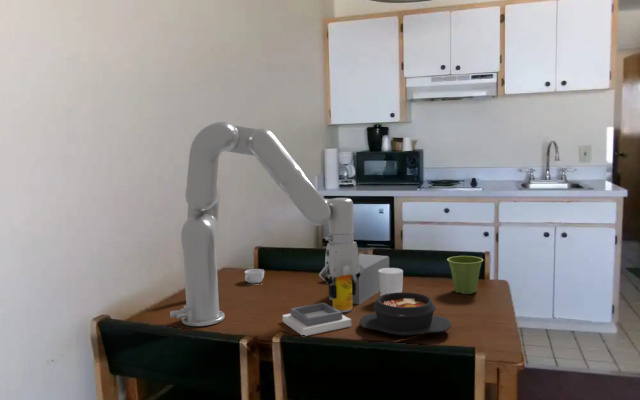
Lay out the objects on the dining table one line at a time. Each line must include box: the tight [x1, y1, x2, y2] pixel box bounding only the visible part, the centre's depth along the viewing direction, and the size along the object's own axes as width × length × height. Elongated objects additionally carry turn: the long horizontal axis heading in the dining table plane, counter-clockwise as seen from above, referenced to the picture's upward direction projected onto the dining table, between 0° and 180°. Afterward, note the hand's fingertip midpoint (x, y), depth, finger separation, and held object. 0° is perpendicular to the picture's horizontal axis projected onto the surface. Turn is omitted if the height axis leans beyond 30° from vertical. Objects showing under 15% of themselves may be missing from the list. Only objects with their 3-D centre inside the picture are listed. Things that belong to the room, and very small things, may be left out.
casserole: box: [358, 291, 452, 337], centre depth 142 cm, size 25×19×8 cm
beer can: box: [332, 266, 354, 313], centre depth 160 cm, size 6×6×15 cm
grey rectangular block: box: [326, 253, 390, 305], centre depth 182 cm, size 25×23×11 cm
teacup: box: [244, 268, 265, 284], centre depth 197 cm, size 10×10×5 cm
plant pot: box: [446, 255, 484, 295], centre depth 176 cm, size 12×12×11 cm
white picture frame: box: [282, 302, 352, 337], centre depth 148 cm, size 15×14×4 cm
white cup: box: [378, 267, 404, 297], centre depth 168 cm, size 8×8×10 cm
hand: (342, 295), depth 160 cm, fingers closed on beer can, 6 cm apart
